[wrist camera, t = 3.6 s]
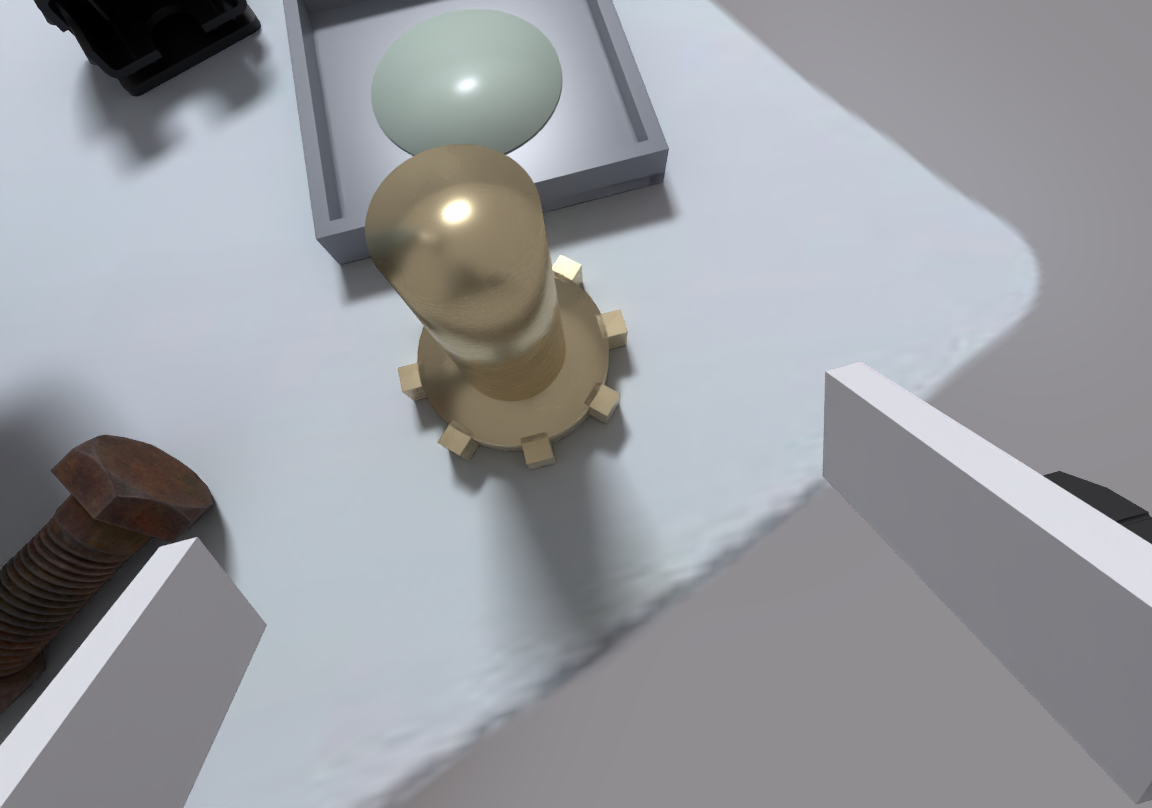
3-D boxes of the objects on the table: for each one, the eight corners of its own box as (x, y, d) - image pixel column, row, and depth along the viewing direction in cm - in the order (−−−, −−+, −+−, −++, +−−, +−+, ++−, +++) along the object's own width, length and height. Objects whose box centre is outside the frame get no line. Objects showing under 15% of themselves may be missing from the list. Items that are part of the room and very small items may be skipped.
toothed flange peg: (431, 496, 24) (283, 451, 13) (394, 294, 27) (248, 115, 16) (654, 436, 24) (699, 341, 13) (594, 243, 27) (588, 30, 16)
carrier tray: (339, 264, 28) (315, 238, 25) (303, 21, 32) (280, -20, 30) (663, 181, 28) (668, 148, 26) (578, -47, 33) (576, -92, 31)
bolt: (-25, 718, 24) (211, 470, 26) (-42, 819, 21) (230, 525, 23) (-221, 710, 20) (80, 414, 22) (-282, 835, 17) (80, 472, 19)
